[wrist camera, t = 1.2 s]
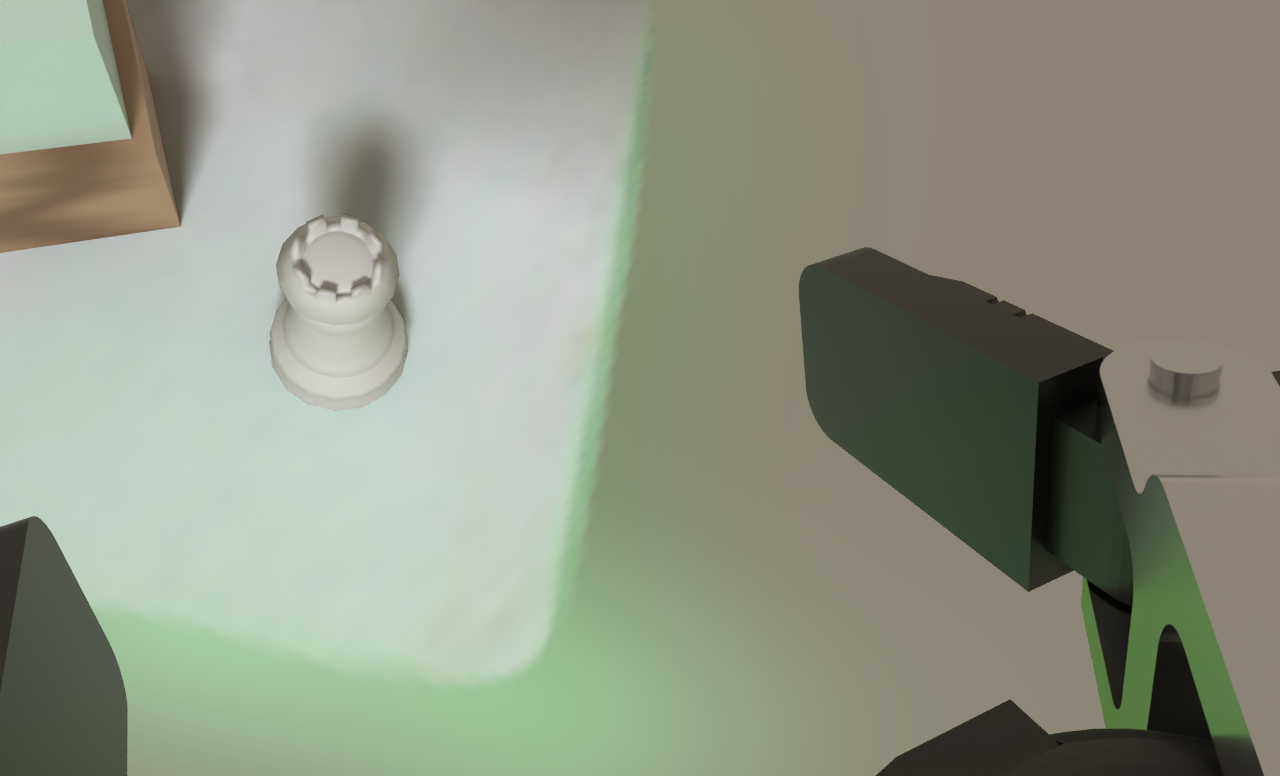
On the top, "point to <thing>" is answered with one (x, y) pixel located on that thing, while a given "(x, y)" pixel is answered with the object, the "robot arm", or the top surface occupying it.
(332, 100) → the top surface
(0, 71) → the sage top block
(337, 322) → the rook chess piece
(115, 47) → the walnut base block
